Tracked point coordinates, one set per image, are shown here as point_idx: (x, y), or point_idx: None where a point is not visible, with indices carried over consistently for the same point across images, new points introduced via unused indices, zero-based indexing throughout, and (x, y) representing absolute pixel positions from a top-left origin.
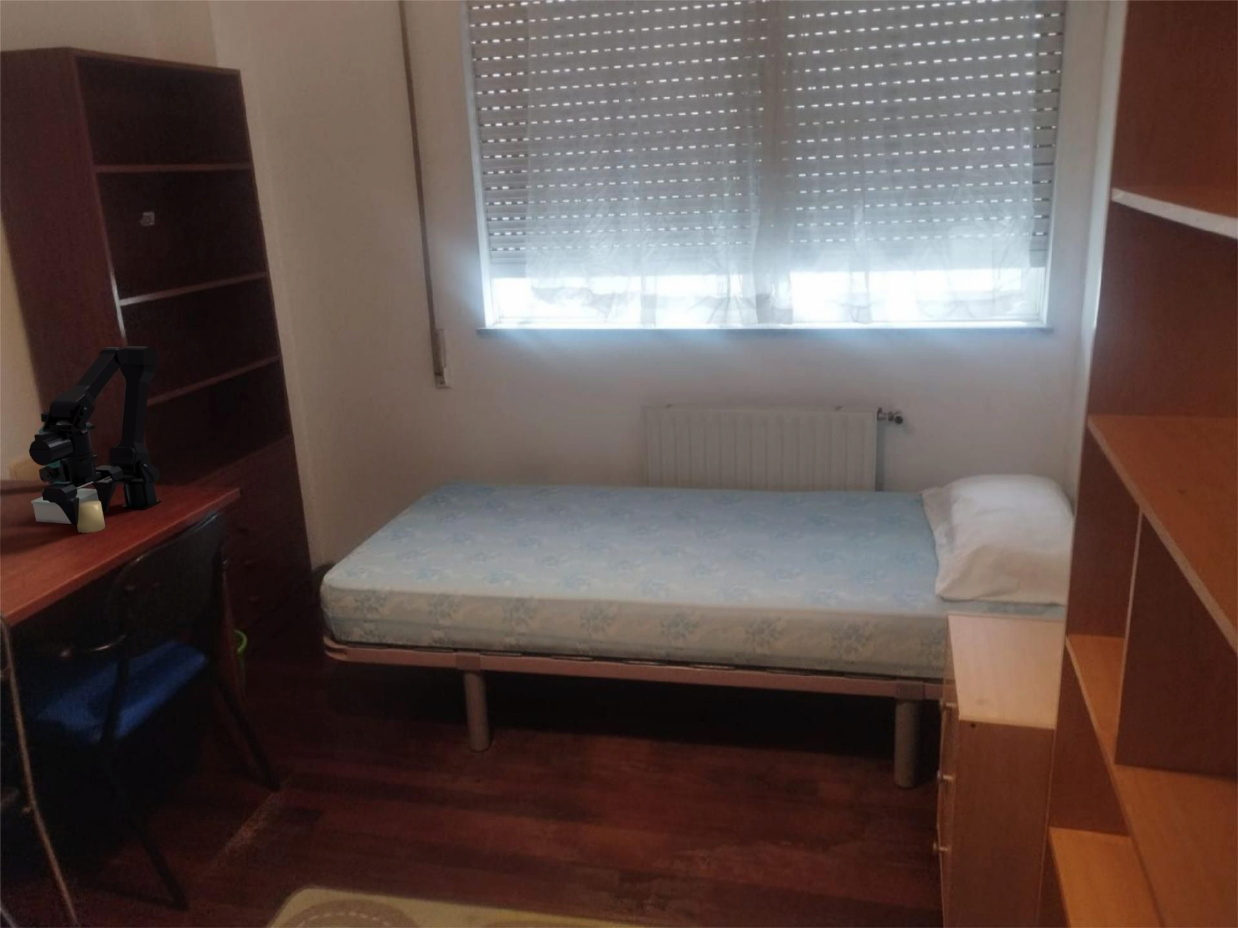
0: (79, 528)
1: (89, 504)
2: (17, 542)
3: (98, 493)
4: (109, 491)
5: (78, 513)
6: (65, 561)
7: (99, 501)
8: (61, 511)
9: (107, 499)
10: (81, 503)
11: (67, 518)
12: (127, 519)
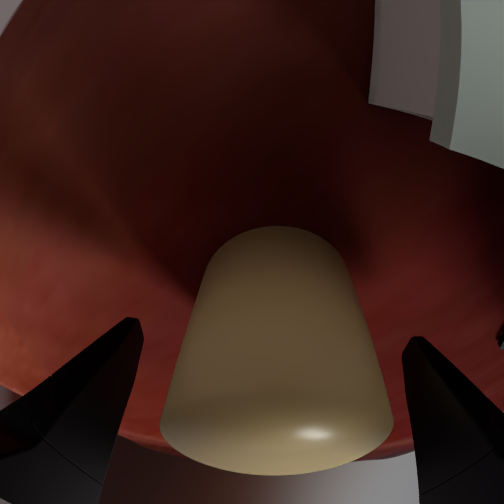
0: (201, 284)
1: (270, 455)
2: (14, 42)
3: (473, 440)
4: (423, 493)
5: (117, 425)
6: (17, 356)
7: (347, 460)
8: (419, 9)
9: (416, 441)
10: (300, 416)
11: (386, 67)
12: None
